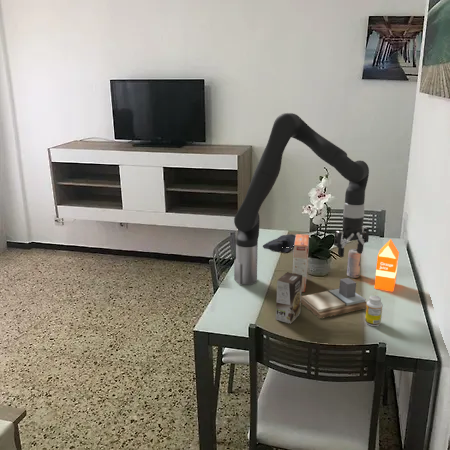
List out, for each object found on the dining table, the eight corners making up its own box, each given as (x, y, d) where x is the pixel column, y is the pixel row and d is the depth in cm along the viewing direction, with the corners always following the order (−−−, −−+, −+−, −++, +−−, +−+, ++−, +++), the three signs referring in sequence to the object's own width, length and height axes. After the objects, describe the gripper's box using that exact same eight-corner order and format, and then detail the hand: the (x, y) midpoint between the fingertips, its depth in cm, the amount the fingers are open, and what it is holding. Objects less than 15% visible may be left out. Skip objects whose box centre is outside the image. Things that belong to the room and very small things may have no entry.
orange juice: (395, 283, 204) (400, 239, 198) (393, 291, 196) (398, 246, 190) (376, 280, 207) (381, 237, 201) (373, 288, 199) (378, 243, 193)
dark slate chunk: (305, 242, 254) (305, 233, 253) (286, 254, 237) (286, 246, 236) (280, 236, 263) (280, 228, 261) (259, 248, 245) (260, 240, 244)
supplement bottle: (368, 317, 176) (371, 292, 173) (383, 322, 173) (385, 297, 170) (362, 323, 172) (364, 298, 169) (376, 328, 169) (379, 302, 165)
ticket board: (320, 318, 175) (320, 312, 175) (297, 300, 189) (298, 294, 189) (368, 307, 183) (368, 301, 183) (343, 290, 197) (343, 284, 197)
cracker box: (305, 292, 196) (308, 245, 189) (291, 291, 197) (293, 244, 190) (307, 278, 209) (309, 234, 202) (293, 277, 210) (295, 233, 203)
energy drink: (359, 273, 213) (361, 249, 210) (358, 278, 209) (360, 253, 205) (347, 272, 215) (349, 247, 211) (346, 277, 210) (348, 252, 206)
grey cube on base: (346, 305, 181) (348, 289, 179) (328, 292, 192) (329, 276, 190) (365, 301, 185) (366, 285, 182) (346, 288, 195) (347, 273, 193)
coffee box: (291, 324, 172) (292, 284, 167) (275, 319, 175) (276, 280, 170) (301, 313, 179) (303, 274, 174) (285, 309, 182) (287, 271, 177)
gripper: (362, 209, 183) (359, 248, 188) (331, 214, 178) (329, 254, 183) (375, 214, 177) (371, 255, 182) (343, 219, 172) (340, 261, 177)
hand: (350, 254), depth 183 cm, fingers open, 8 cm apart
